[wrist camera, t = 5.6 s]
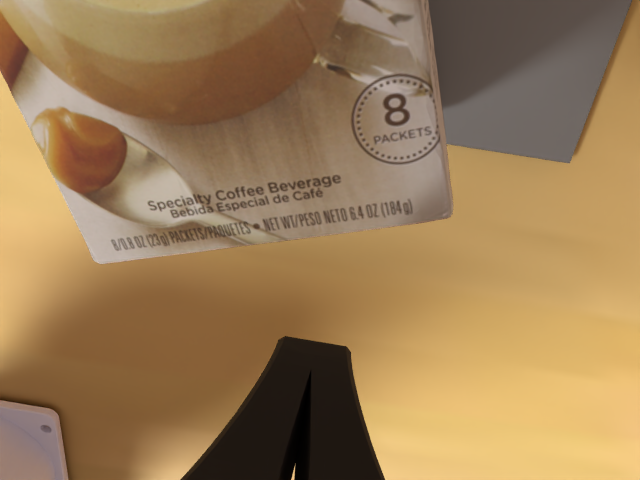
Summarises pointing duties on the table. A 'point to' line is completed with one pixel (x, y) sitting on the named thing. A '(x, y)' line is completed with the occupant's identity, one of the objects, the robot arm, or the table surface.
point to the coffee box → (230, 118)
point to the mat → (522, 70)
